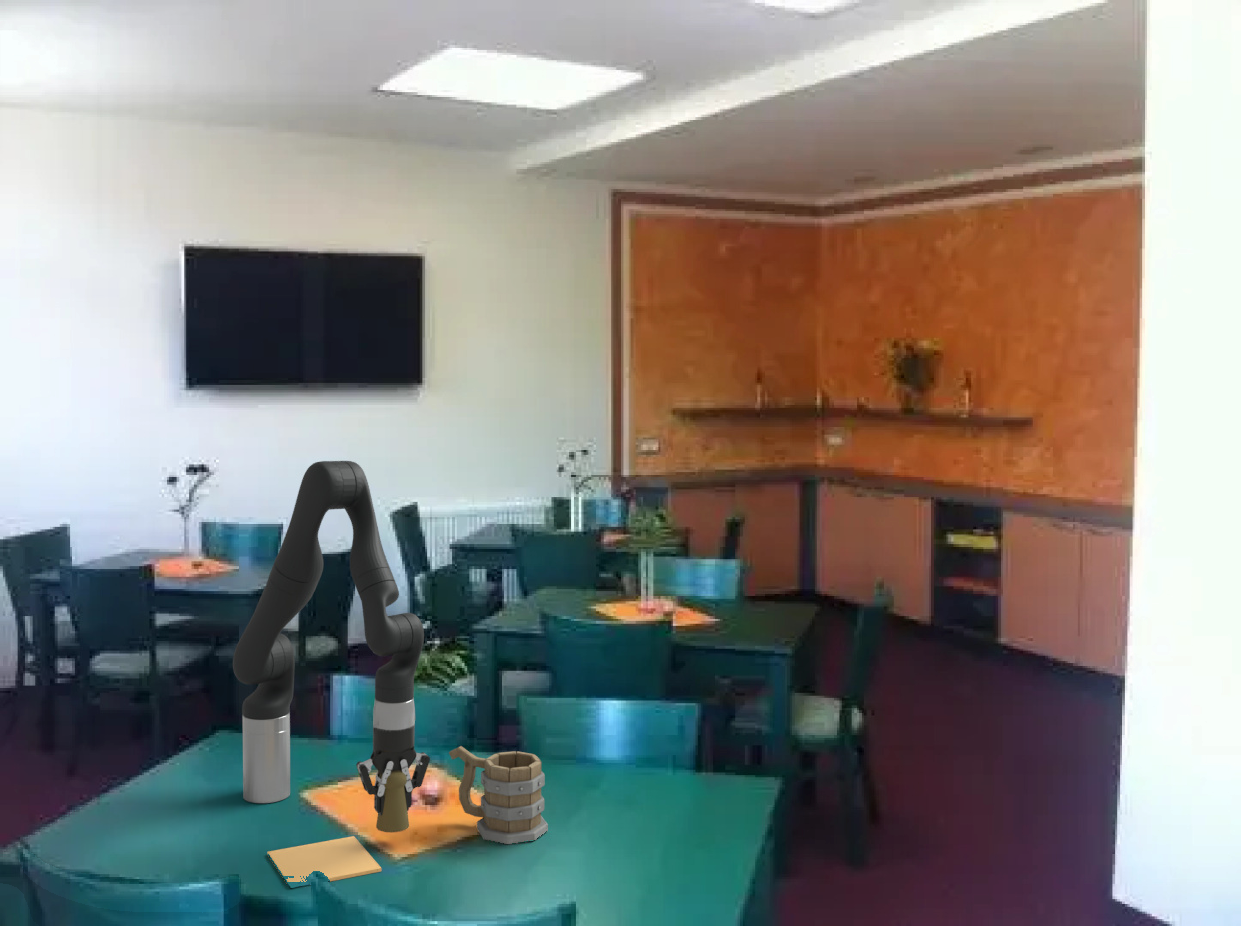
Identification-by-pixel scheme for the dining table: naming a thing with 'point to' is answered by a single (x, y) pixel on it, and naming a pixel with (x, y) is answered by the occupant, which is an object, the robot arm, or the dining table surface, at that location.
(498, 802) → the tankard
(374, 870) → the placemat
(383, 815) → the cork
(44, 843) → the dining table surface
